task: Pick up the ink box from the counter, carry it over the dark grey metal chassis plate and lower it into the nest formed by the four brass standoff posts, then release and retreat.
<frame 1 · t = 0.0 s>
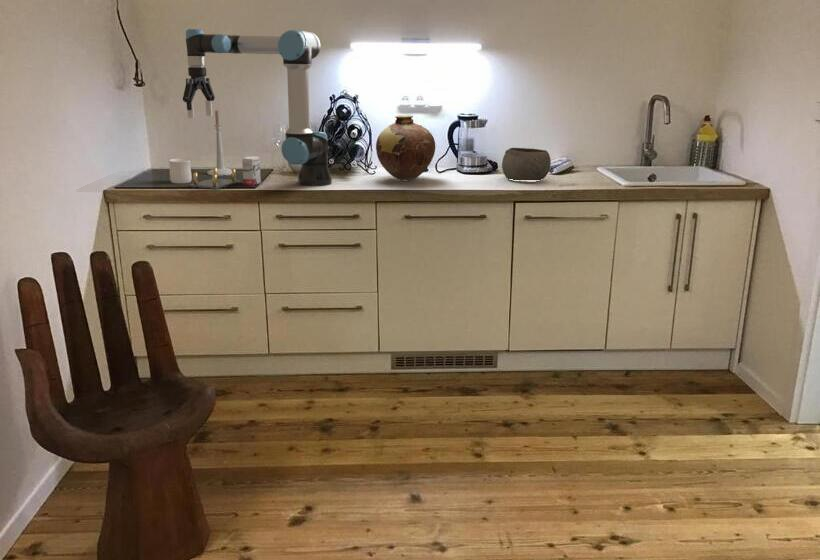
hand: (200, 116, 309), 28 cm above the worktop, fingers open, 13 cm apart
vase: (405, 181, 325), on the worktop
bowl: (525, 181, 333), on the worktop
chassis: (215, 184, 305), on the worktop
candlestick: (221, 173, 334), on the worktop
cup: (180, 182, 310), on the worktop
ink box: (252, 184, 309), on the worktop
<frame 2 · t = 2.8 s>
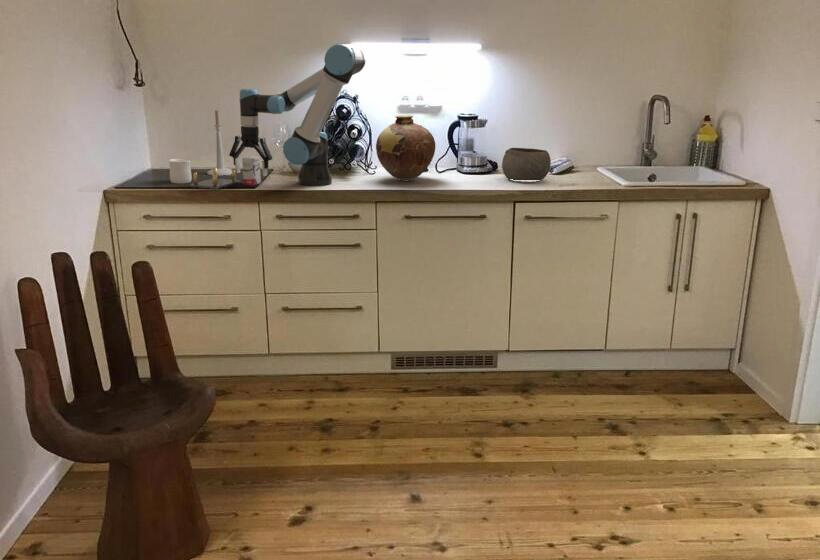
hand: (251, 174, 308), 4 cm above the worktop, fingers open, 13 cm apart
nothing on the worktop moved.
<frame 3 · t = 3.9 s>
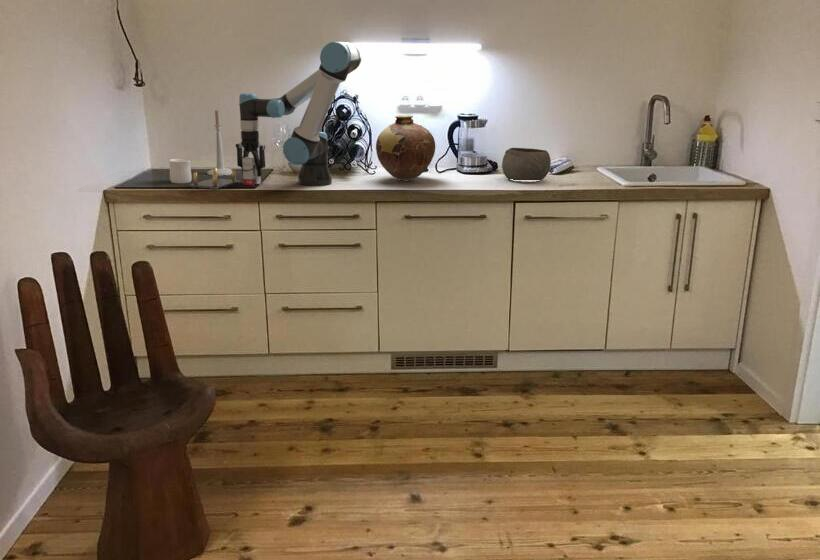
hand: (252, 183, 309), 0 cm above the worktop, fingers closed on ink box, 5 cm apart
ink box: (252, 184, 309), on the worktop, touching gripper
everything else where it was.
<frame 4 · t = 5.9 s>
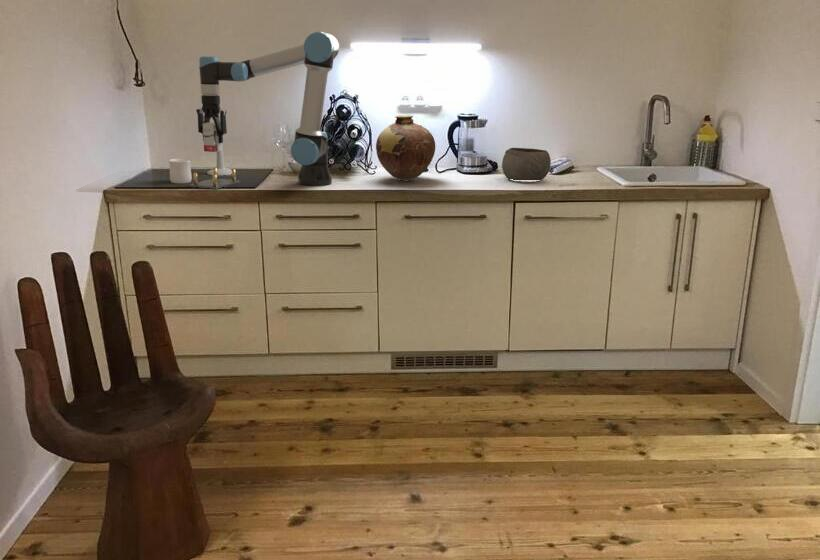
hand: (213, 150, 300), 15 cm above the worktop, fingers closed on ink box, 5 cm apart
ink box: (213, 151, 301), point 15 cm above the worktop, touching gripper
everything else where it was.
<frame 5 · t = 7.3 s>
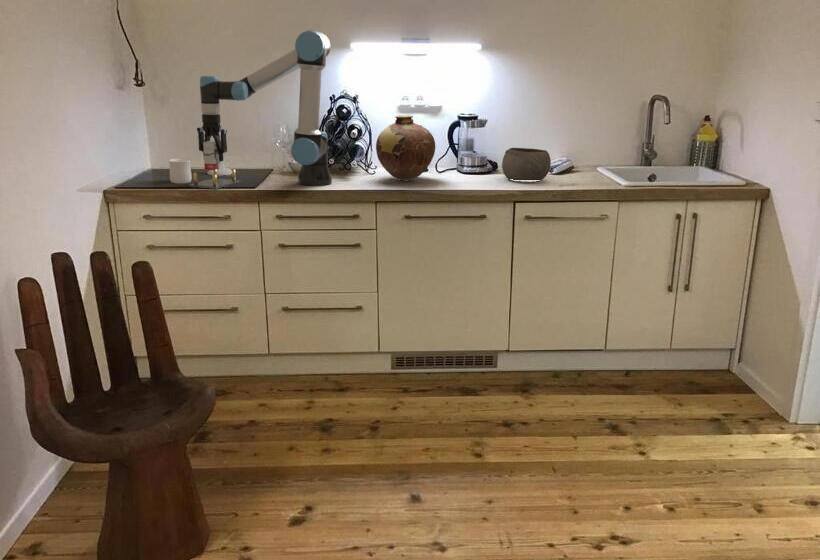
hand: (214, 168, 303), 7 cm above the worktop, fingers closed on ink box, 5 cm apart
ink box: (214, 169, 303), point 7 cm above the worktop, touching gripper
everything else where it was.
when the fingers open (3 cm above the worktop, at t = 8.4 s): ink box drops 1 cm, resting on chassis.
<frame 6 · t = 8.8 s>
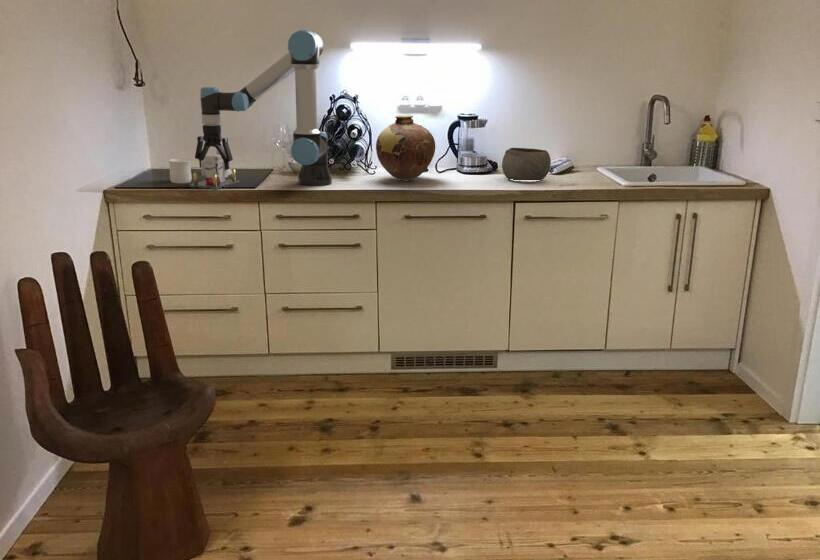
hand: (214, 176, 304), 4 cm above the worktop, fingers open, 10 cm apart
ink box: (215, 183, 305), point 1 cm above the worktop, touching chassis
everything else where it was.
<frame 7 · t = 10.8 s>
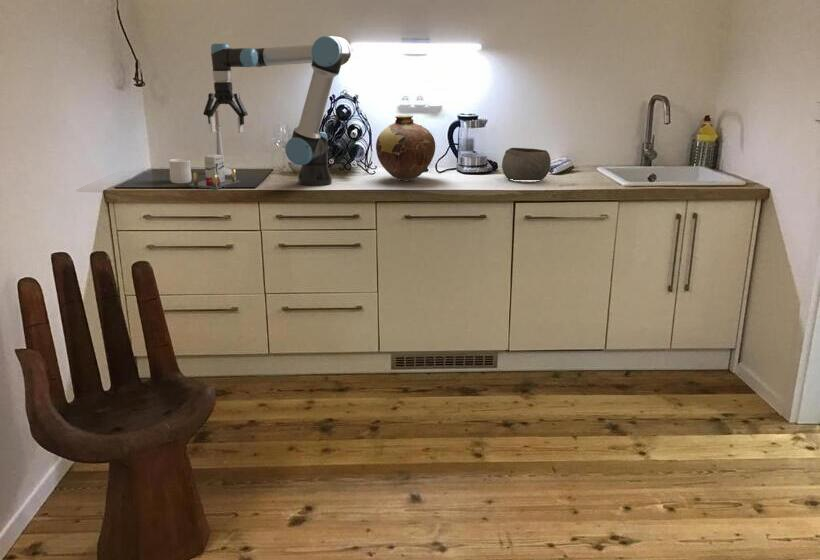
hand: (227, 132, 303), 22 cm above the worktop, fingers open, 13 cm apart
nothing on the worktop moved.
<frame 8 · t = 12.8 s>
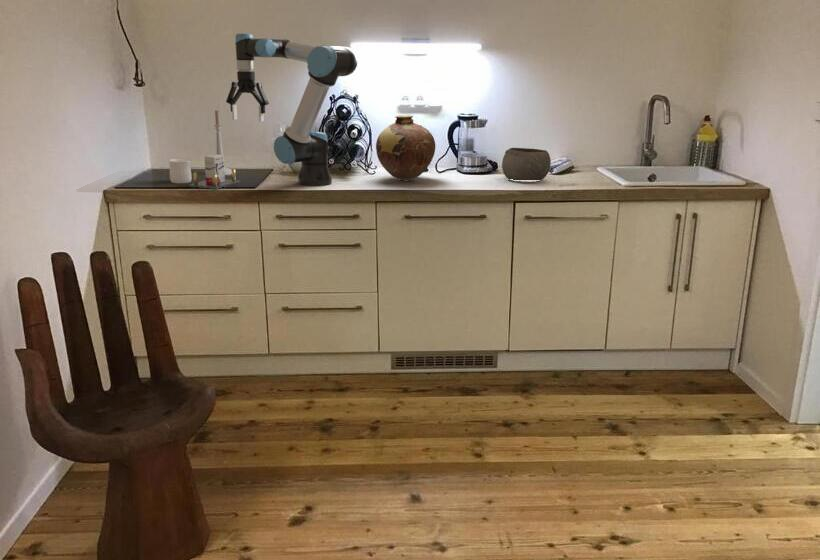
hand: (248, 120, 311), 27 cm above the worktop, fingers open, 13 cm apart
nothing on the worktop moved.
at the end: ink box 0.2 cm off-centre on the chassis, point 0.8 cm above the chassis's base; ink box tilted 0°; the gripper is holding nothing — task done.
